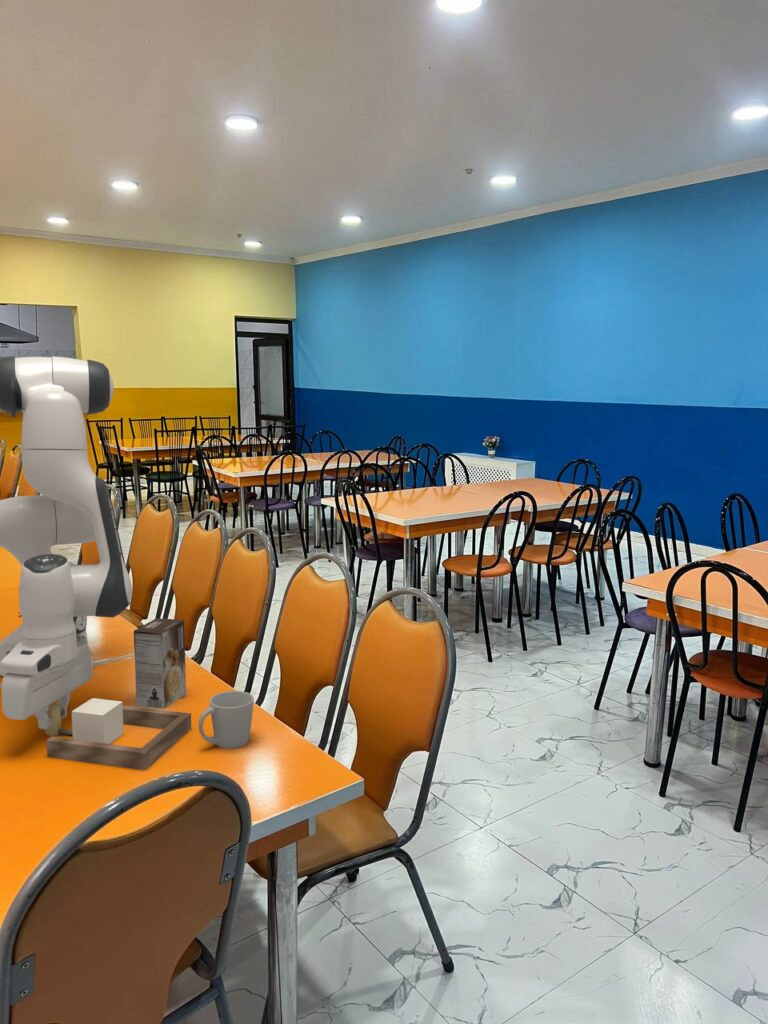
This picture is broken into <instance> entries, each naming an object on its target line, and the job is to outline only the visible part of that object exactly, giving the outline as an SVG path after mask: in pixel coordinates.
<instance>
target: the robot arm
mask: <svg viewBox="0 0 768 1024" xmlns="http://www.w3.org/2000/svg"><path fill="white" fill-rule="evenodd" d="M113 397H114V381H113V378H112V375H111V374H110V371H109V368H108V367H107V366H106V365H105V364H104V363H103V362H99V361H96V360H92V359H87V360H84V359H79V358H78V359H76V358H72V357H65V356H64V357H63V356H53V355H52V356H23V357H20V356H19V357H15V356H14V355H10V356H2V357H0V411H2V412H4V413H8V414H10V415H11V417H12V418H14V419H15V418H16V414H17V413H22V426H21V427H22V428H21V462H22V464H21V465H22V471H23V475H24V478H25V480H26V482H27V483H28V485H30V486H31V488H32V489H34V490H35V491H36V492H38V493H39V495H17V496H14V497H7V498H4V499H0V547H1V548H3V549H4V550H6V551H7V552H9V554H11V555H12V556H13V557H14V558H15V559H16V560H17V562H19V563H18V564H20V566H21V570H20V576H19V585H18V587H19V588H18V604H19V606H18V607H19V609H18V610H19V612H18V614H20V615H18V618H21V619H22V624H21V625H20V626H18V627H17V628H15V630H13V631H12V632H11V633H9V634H8V635H7V636H5V637H4V638H3V639H2V640H1V641H0V676H2V677H3V678H2V681H1V706H2V712H3V713H2V714H4V715H5V717H6V718H7V719H11V720H15V721H16V720H18V721H25V720H26V719H28V718H30V717H31V716H33V715H34V717H36V719H37V723H38V729H40V730H45V729H47V728H49V727H51V726H52V725H53V723H52V717H48V714H47V712H46V711H48V705H50V704H53V703H55V702H56V703H57V704H60V710H61V720H63V719H64V718H66V717H67V716H68V715H67V714H68V712H67V711H68V710H67V708H68V706H69V702H70V701H71V700H70V699H71V695H72V694H71V692H73V691H75V690H76V689H78V688H80V687H81V686H82V685H84V684H86V683H87V682H89V681H91V680H92V677H93V673H94V669H93V667H94V665H95V661H94V659H93V656H92V653H91V649H90V645H89V639H88V635H87V623H88V617H97V618H112V619H113V618H116V617H117V616H119V615H120V614H121V613H123V612H125V610H126V609H127V608H128V607H129V606H130V605H131V602H132V597H133V585H132V581H131V578H130V574H129V572H128V570H127V566H126V561H125V557H124V552H123V547H122V544H121V539H120V538H121V537H120V532H119V529H118V525H117V524H118V523H117V512H116V509H115V507H114V504H113V501H112V497H111V493H110V491H109V488H108V486H107V483H106V482H105V481H106V480H104V479H103V478H101V477H98V476H97V475H96V474H95V472H94V471H93V468H92V466H91V464H90V462H89V456H88V442H87V441H88V440H87V439H88V438H87V430H86V424H85V417H84V414H87V415H88V416H89V415H96V414H100V413H103V412H104V411H105V410H107V409H108V408H109V406H110V403H111V401H112V398H113ZM91 542H95V543H96V547H97V552H98V557H99V558H98V559H99V562H98V563H95V564H76V563H73V562H71V561H70V560H69V559H68V558H67V557H65V556H63V555H61V554H57V553H52V551H51V548H52V547H53V546H54V547H55V546H59V545H62V546H63V545H74V544H75V545H76V544H89V543H91Z"/></svg>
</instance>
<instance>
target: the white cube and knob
mask: <svg viewBox="0 0 768 1024" xmlns="http://www.w3.org/2000/svg"><path fill="white" fill-rule="evenodd" d="M46 712H47V714H48V717H52V723H53V725H52V726H51V727H49V728H47V729H44V730H45V735H46V736H47V737H52V736H53V737H57V736H59V735H69V736H72V739H76V740H84V741H91V742H99V743H106V744H112V743H113V742H115V741H116V740H118V739H119V738H120V737H121V736H122V735H124V733H125V732H124V724H123V701H120V700H111V699H103V698H93V697H92V698H90V699H89V700H87V701H86V702H84V703H83V704H80V705H79V706H78V707H76V708H74V709H73V710H72V711H71V727H72V730H71V729H64V728H62V719H61V710H60V704H57V702H56V703H55V702H53V703H51V704H50V705H48V711H46Z"/></svg>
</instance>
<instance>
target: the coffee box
mask: <svg viewBox="0 0 768 1024" xmlns="http://www.w3.org/2000/svg"><path fill="white" fill-rule="evenodd" d="M185 639H186V637H185V620H184V619H175V618H162V617H161V618H159V617H156V618H154V619H153V620H151V621H149V622H147V623H145V624H143V625H142V626H139V627H138V628H136V629H134V630H133V648H134V650H133V651H134V653H133V654H134V675H135V676H134V677H135V679H134V680H135V698H136V700H135V701H136V702H135V703H136V706H135V707H141V708H150V709H160V710H165V709H167V708H168V707H170V706H171V705H172V704H173V703H175V702H176V701H177V700H178V699H183V697H184V696H186V694H187V684H186V683H187V679H186V678H187V675H186V644H185V643H186V641H185Z"/></svg>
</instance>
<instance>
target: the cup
mask: <svg viewBox="0 0 768 1024" xmlns="http://www.w3.org/2000/svg"><path fill="white" fill-rule="evenodd" d="M254 700H255V698H254V696H253V695H252V694H251V693H250V692H246V691H243V690H242V691H241V690H228V691H222V692H219V693H216V694H215V695H212V697H210V699H209V705H208V707H207V708H206V709H205V710H204V711H202V713H201V714H200V716H199V719H198V731H199V734H200V736H201V737H202V738H203V739H204V741H205V742H208V743H210V744H213V745H216V746H217V747H219V748H221V749H224V750H225V749H227V750H231V749H232V750H233V749H239V748H242V747H244V746H246V745H247V744H248V743H249V741H250V734H251V728H252V723H253V722H252V720H253V713H254V712H253V711H254V702H255V701H254ZM209 715H211V723H212V729H213V730H212V731H213V736H208V735H206V734H205V731H204V722H205V720H206V718H207V717H208V716H209Z"/></svg>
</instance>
